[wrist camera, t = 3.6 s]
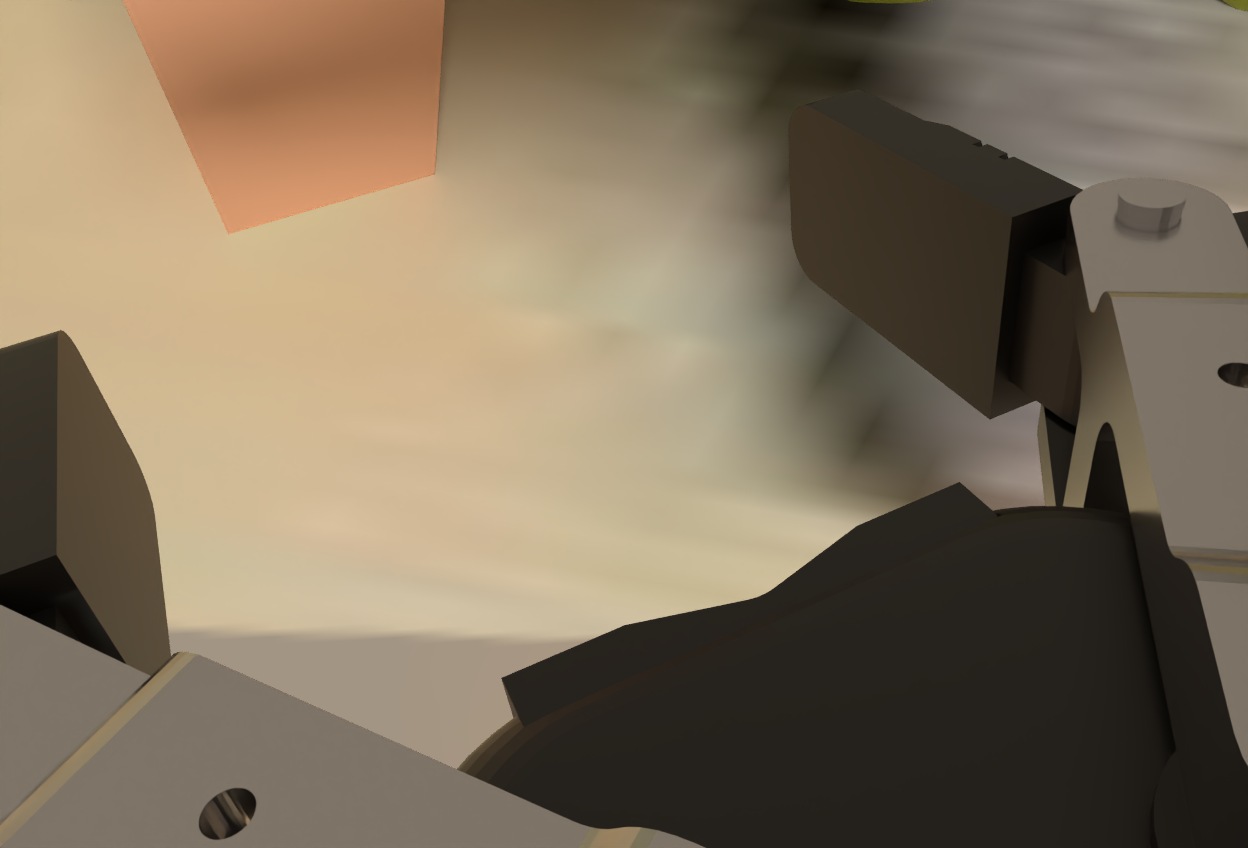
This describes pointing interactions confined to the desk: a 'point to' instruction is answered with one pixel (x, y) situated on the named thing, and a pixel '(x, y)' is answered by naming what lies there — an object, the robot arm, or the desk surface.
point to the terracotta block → (298, 96)
